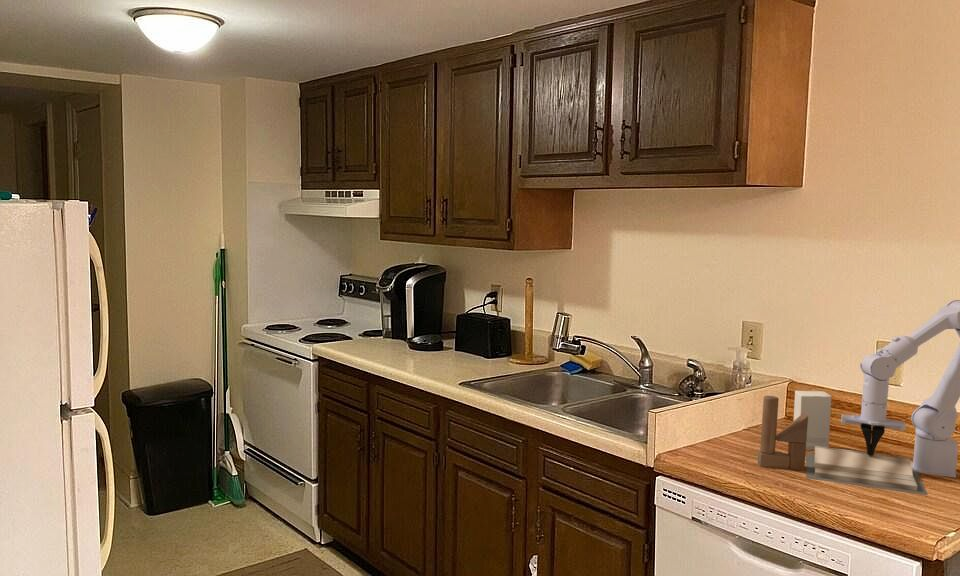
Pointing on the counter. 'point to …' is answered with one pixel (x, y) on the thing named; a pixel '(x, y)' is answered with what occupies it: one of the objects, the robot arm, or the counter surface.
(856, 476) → the laid plank
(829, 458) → the loose plank
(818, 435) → the skincare box
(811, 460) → the underlay mat
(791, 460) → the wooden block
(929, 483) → the counter surface
